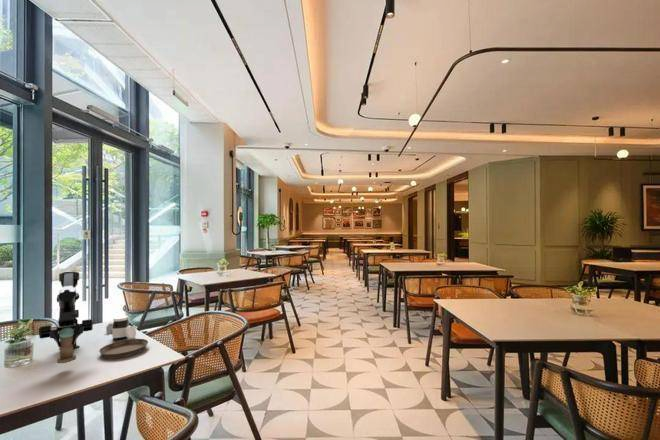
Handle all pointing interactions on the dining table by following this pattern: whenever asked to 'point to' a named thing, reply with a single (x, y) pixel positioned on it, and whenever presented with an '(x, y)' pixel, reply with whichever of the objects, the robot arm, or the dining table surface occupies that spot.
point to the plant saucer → (123, 348)
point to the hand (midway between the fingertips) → (66, 345)
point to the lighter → (109, 328)
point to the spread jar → (122, 328)
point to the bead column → (66, 346)
